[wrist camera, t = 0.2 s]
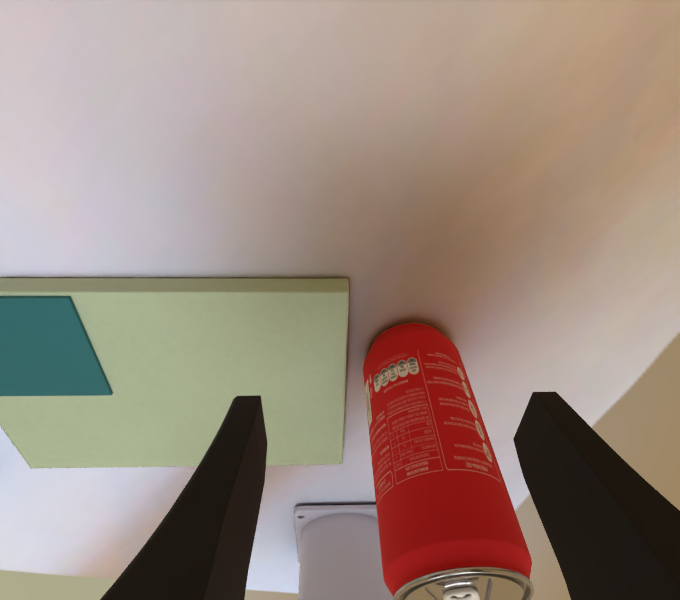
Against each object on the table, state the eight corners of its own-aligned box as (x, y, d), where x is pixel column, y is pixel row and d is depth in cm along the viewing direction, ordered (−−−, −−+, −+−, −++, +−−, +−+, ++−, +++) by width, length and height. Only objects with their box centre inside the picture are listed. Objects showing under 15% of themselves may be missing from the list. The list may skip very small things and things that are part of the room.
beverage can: (448, 306, 22) (540, 558, 13) (460, 373, 25) (542, 616, 16) (350, 329, 23) (369, 583, 14) (374, 391, 26) (403, 635, 17)
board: (341, 448, 30) (342, 467, 28) (40, 452, 29) (28, 471, 28) (348, 277, 21) (349, 294, 20) (-78, 277, 20) (-101, 294, 19)
